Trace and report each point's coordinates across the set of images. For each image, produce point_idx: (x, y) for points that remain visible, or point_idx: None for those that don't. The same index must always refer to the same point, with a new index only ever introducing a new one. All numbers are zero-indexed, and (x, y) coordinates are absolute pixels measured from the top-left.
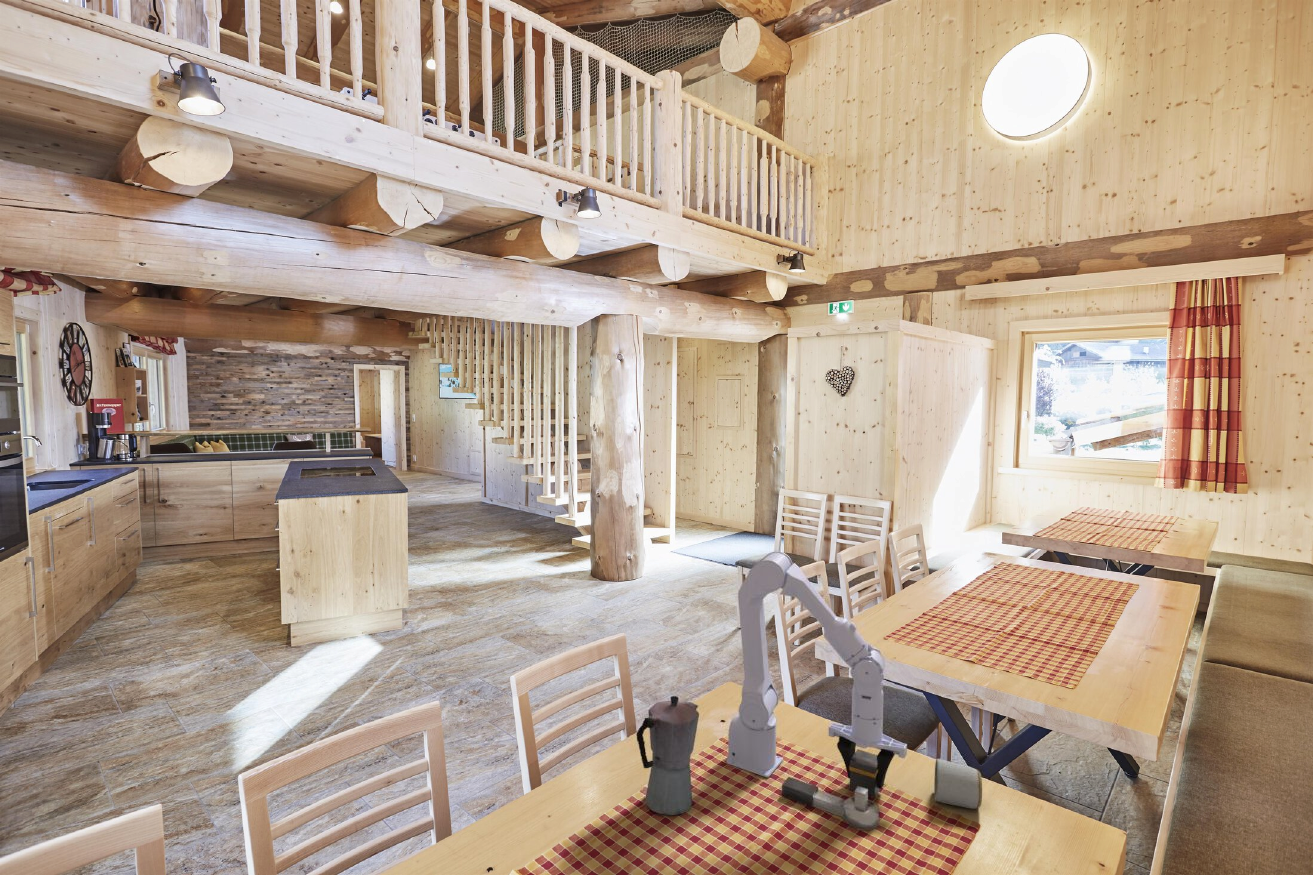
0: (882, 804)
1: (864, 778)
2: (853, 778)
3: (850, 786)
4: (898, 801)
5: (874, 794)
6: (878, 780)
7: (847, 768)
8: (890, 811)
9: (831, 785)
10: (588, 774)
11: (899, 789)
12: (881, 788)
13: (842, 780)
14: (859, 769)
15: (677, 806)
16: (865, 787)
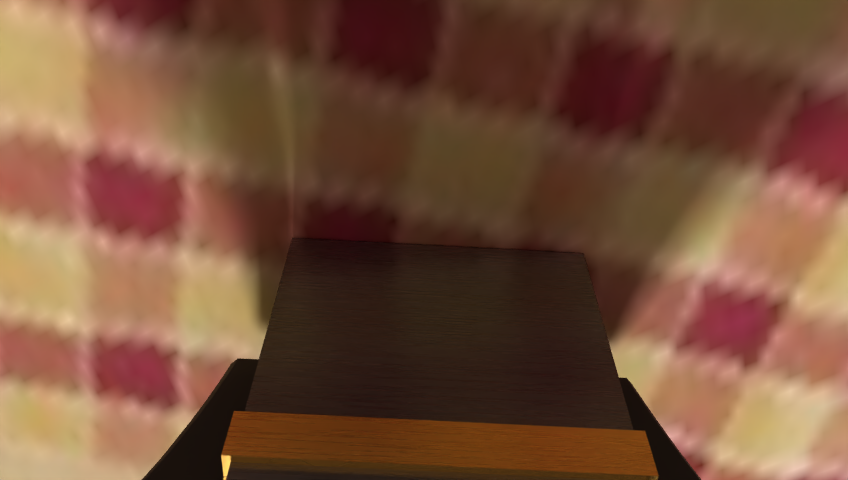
0: (185, 183)
1: (408, 382)
2: (561, 354)
3: (580, 281)
4: (72, 310)
5: (288, 265)
6: None
7: (671, 463)
8: (56, 101)
9: (794, 241)
10: None
11: (147, 471)
12: (230, 369)
13: (679, 371)
14: (489, 470)
15: None
16: (395, 300)
